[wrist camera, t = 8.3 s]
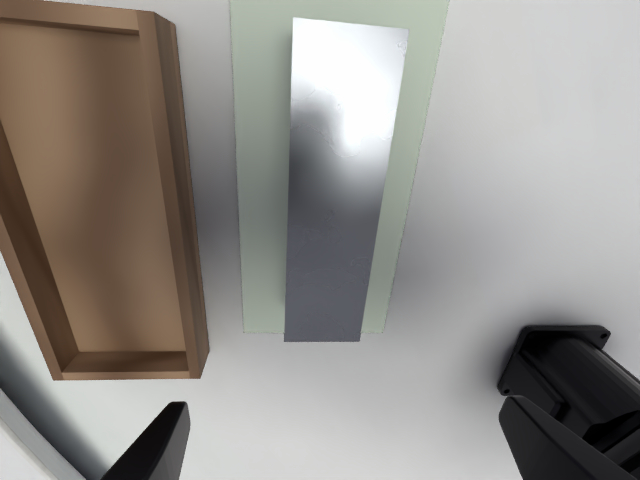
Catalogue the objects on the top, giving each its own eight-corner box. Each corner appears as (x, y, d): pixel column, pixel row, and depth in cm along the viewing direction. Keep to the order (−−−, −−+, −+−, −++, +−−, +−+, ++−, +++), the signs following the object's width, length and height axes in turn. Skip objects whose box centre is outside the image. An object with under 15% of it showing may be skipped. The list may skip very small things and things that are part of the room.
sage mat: (444, -2, 13) (450, -6, 13) (380, 326, 21) (382, 333, 20) (231, -26, 12) (228, -32, 12) (244, 326, 20) (243, 332, 19)
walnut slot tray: (175, 24, 13) (153, 11, 11) (209, 351, 21) (200, 378, 19) (-42, 3, 12) (-108, -15, 10) (77, 351, 20) (53, 380, 18)
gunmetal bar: (386, 42, 13) (409, 29, 11) (350, 306, 19) (359, 341, 16) (293, 33, 13) (293, 17, 10) (285, 306, 19) (284, 341, 16)
